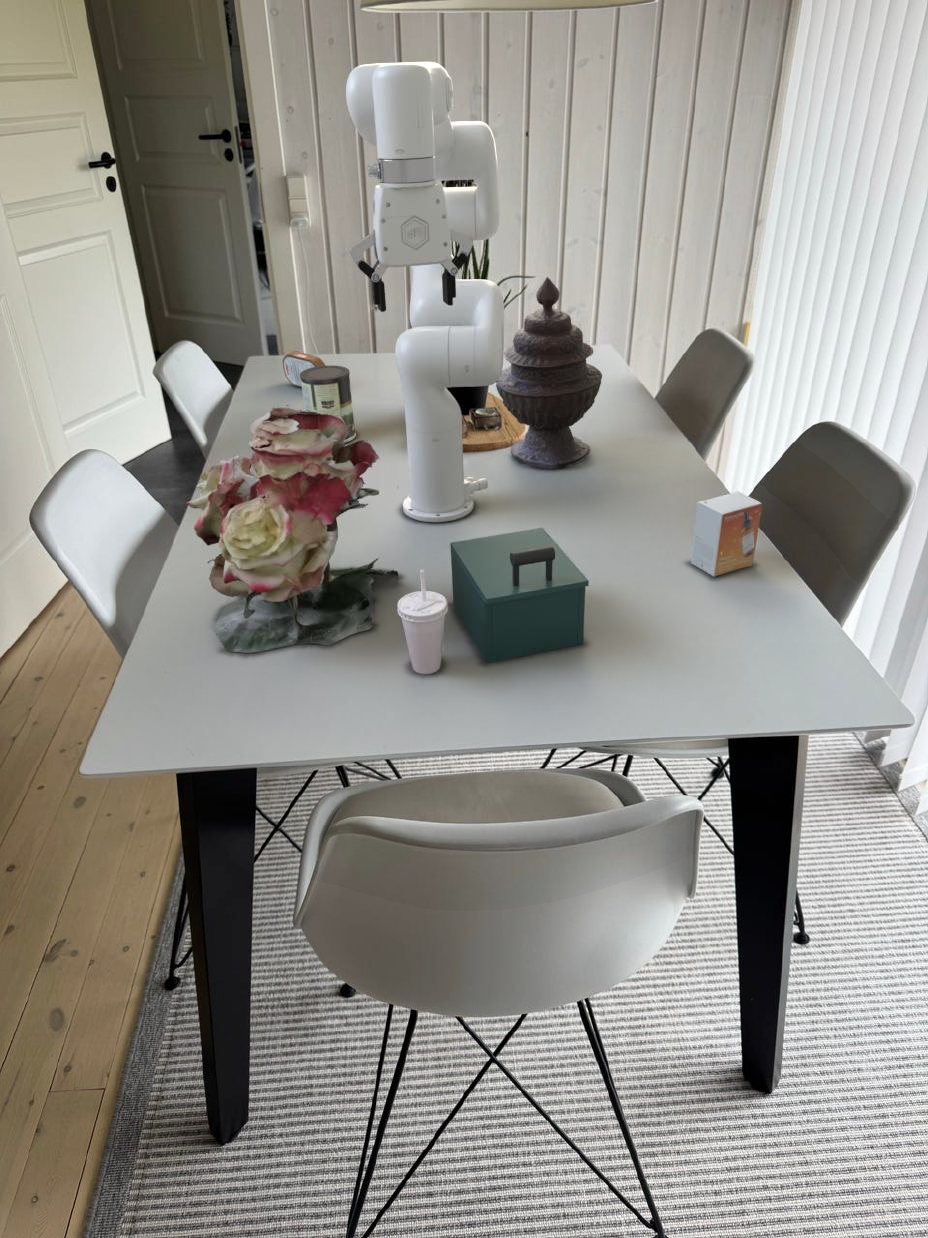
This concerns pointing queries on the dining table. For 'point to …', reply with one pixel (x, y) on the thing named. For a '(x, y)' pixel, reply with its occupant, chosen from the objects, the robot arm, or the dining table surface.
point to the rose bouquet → (287, 533)
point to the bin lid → (517, 565)
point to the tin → (299, 365)
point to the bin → (518, 619)
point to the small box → (725, 533)
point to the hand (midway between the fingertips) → (415, 306)
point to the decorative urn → (549, 384)
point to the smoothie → (423, 627)
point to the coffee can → (329, 394)
